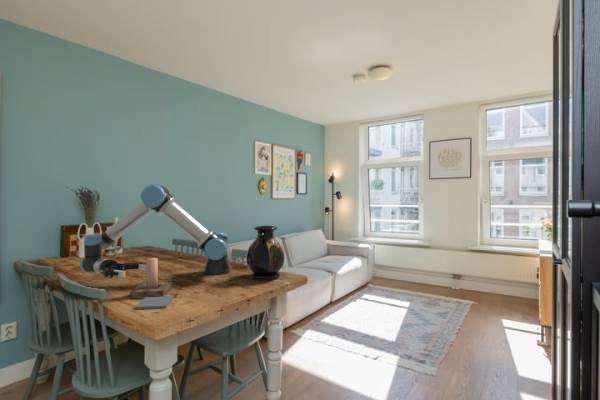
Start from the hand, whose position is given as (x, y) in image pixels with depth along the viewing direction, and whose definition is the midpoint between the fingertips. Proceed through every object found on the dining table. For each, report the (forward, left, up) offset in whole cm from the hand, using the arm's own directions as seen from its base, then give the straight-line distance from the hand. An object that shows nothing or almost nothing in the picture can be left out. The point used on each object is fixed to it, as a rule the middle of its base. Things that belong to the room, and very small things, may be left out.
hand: (137, 271), depth 151 cm
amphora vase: (-61, -18, -10) cm, 65 cm away
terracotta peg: (-8, +5, -9) cm, 13 cm away
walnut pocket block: (-8, +5, -9) cm, 13 cm away
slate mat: (-14, +20, -9) cm, 26 cm away
